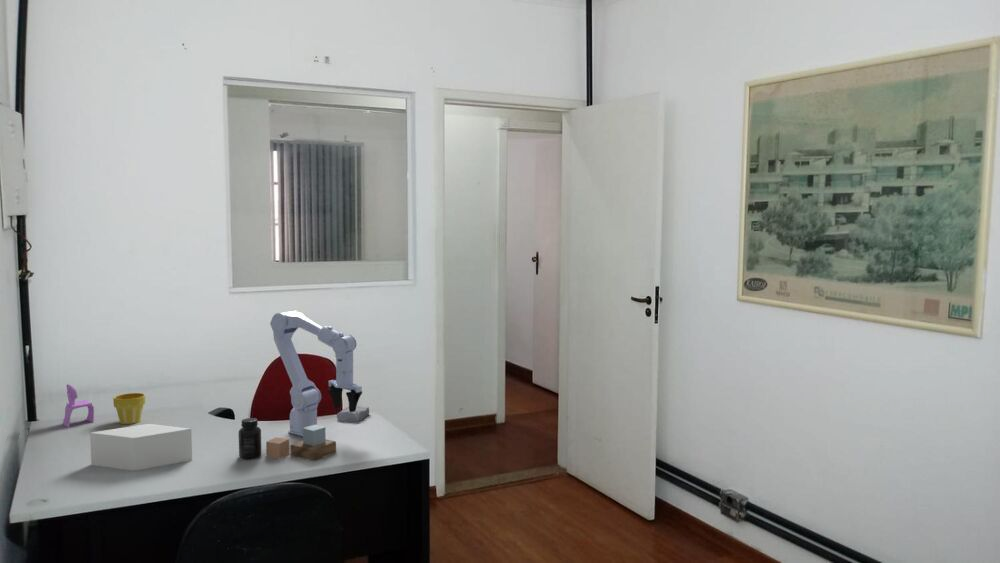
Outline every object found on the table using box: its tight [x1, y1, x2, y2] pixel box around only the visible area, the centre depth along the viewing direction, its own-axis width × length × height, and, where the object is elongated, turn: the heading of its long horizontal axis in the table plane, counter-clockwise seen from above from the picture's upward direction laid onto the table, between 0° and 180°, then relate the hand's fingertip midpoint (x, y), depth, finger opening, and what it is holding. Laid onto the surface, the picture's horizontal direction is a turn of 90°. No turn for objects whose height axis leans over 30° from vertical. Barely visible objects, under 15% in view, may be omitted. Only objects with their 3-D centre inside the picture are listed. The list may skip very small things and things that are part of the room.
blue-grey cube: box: [302, 424, 327, 446], centre depth 226 cm, size 5×5×5 cm
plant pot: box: [112, 392, 146, 425], centre depth 257 cm, size 10×10×10 cm
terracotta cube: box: [265, 436, 290, 460], centre depth 224 cm, size 5×5×5 cm
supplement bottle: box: [238, 417, 263, 461], centre depth 222 cm, size 7×7×12 cm
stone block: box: [336, 405, 370, 423], centre depth 268 cm, size 12×5×10 cm
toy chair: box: [61, 383, 95, 428], centre depth 254 cm, size 8×9×15 cm
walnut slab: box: [290, 438, 337, 462], centre depth 226 cm, size 10×10×4 cm
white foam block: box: [89, 423, 193, 472], centre depth 215 cm, size 14×29×10 cm, turn 101°
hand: (344, 409), depth 241 cm, fingers open, 7 cm apart
